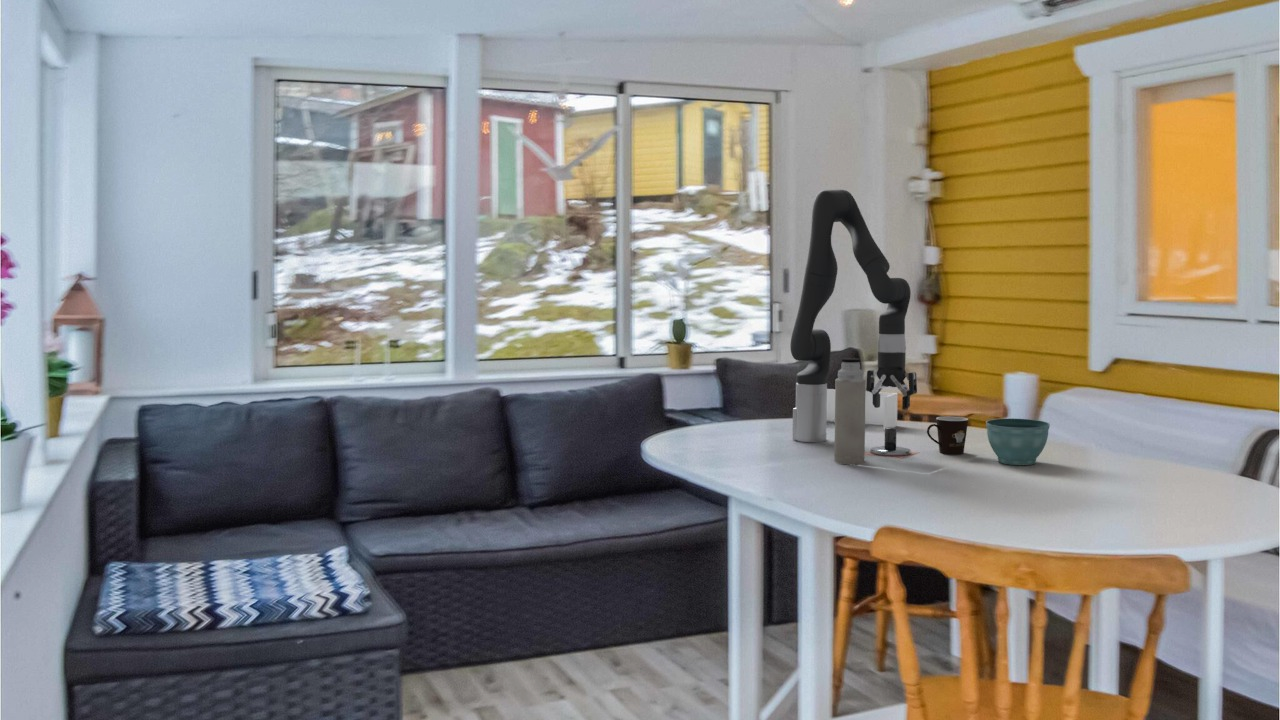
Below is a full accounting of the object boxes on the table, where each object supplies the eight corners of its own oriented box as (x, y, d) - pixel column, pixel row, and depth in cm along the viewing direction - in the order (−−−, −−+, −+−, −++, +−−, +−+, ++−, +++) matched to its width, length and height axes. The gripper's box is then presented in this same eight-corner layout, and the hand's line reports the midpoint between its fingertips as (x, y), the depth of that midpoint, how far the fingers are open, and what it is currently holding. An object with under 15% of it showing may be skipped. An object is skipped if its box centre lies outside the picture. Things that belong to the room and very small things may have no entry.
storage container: (896, 426, 374) (897, 393, 373) (886, 431, 364) (887, 396, 363) (823, 421, 386) (824, 388, 385) (812, 425, 376) (812, 392, 375)
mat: (860, 455, 319) (860, 453, 319) (880, 449, 329) (880, 448, 329) (900, 459, 312) (900, 458, 312) (919, 453, 321) (919, 452, 321)
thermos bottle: (837, 458, 314) (838, 356, 312) (866, 460, 312) (867, 357, 309) (831, 463, 307) (833, 359, 304) (862, 465, 304) (863, 360, 301)
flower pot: (1017, 470, 296) (1018, 428, 295) (972, 460, 311) (973, 420, 310) (1062, 465, 304) (1063, 424, 303) (1016, 455, 318) (1017, 416, 317)
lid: (863, 453, 319) (863, 428, 319) (881, 448, 328) (881, 424, 327) (899, 458, 313) (900, 432, 312) (917, 452, 321) (917, 427, 321)
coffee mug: (964, 451, 324) (965, 416, 323) (970, 457, 316) (971, 421, 315) (922, 451, 326) (923, 416, 325) (927, 456, 317) (927, 420, 316)
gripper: (861, 350, 319) (861, 408, 321) (909, 352, 310) (908, 411, 312) (874, 348, 325) (874, 405, 326) (921, 350, 316) (920, 409, 317)
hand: (891, 408), depth 319 cm, fingers open, 8 cm apart
